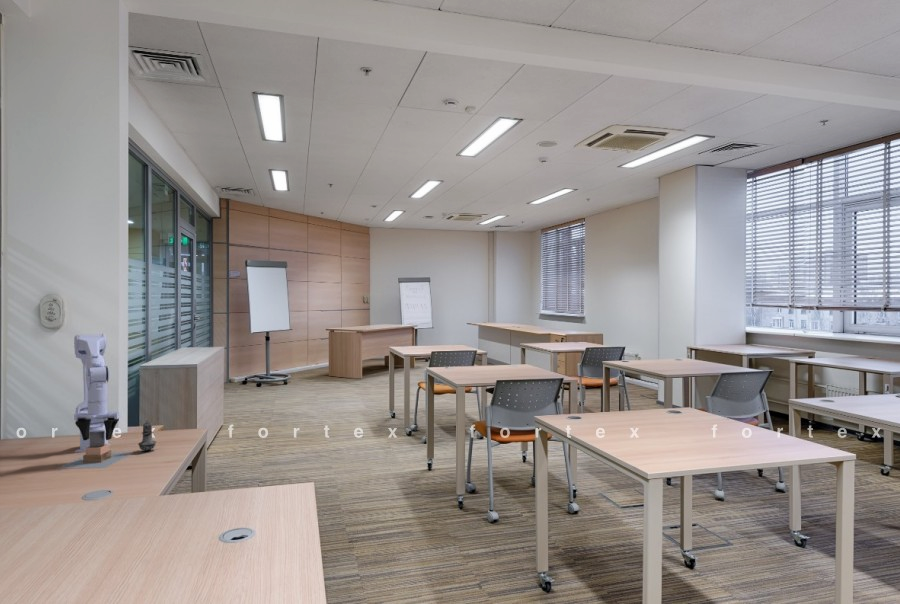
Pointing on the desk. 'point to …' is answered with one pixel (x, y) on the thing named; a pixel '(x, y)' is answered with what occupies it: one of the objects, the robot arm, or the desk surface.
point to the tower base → (96, 457)
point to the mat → (79, 463)
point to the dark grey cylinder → (97, 438)
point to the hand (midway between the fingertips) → (97, 439)
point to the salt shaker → (147, 439)
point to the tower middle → (97, 450)
